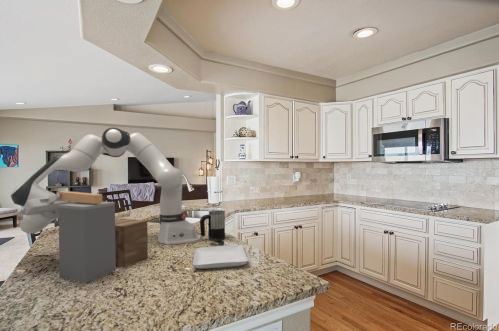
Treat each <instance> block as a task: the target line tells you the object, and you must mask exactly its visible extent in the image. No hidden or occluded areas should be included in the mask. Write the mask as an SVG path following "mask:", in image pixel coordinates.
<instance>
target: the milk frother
mask: <svg viewBox="0 0 499 331" xmlns="http://www.w3.org/2000/svg"><path fill="white" fill-rule="evenodd" d="M225 217H226V211H225V210H220V209H219V210H209V211H208V214H205V215H204V214H203V215H202V216H201V217H200V219H199V228H200V229H199V231H200V236H201V237H205V236H206V229H205V226H206V225H205V221H206V220H207V221H208V223H207V224H208V229H207V230H208V231H207V233H208V234H207V236H208V240H209V241H212V242H214V243H216V244H218V245H221V244H224V243H225V241H224V240H225V239H226V228H225V226H226V222H225V221H226V220H225V219H226V218H225Z"/></svg>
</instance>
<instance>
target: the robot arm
mask: <svg viewBox="0 0 499 331" xmlns="http://www.w3.org/2000/svg"><path fill="white" fill-rule="evenodd" d="M126 151H127V152H130V153H131V154H132V155H133V156H134V157H135V158H136V159H137V160H138V161H139V162H140V163H141V164H142V166H144V167H145V168H146V170H148V172H149V173H150V174H151V176H152V177H153V179H154V180H155V181H156V183H158V184H159V185H160V187H161V192H160V199H159V204H160V205H159V206H160V207H159V209H160V210H159V213H160V214H159V216H158V219H159V220H158V221H159V232H158V233H159V234H158V238H157V240H156V241H157V243H160V244H165V245H167V246H170V245H179V244H190V243H198V242H199V241H200V240H201V239H202V238H201V237H202V236H201V234H199V233H197V229H196V226H195V225H194V224H193V223H192V222H190V221H188V220H187V219H186V218H187V216H186V213H183V212H182V209H183V208H182V200H183V198H182V196H183V195H182V194H183V173H182V171H181V170H180V169H179V168H177V167H174V166H173V165H172V164H171V163H170V162H169V160H168V159H167V158H166V156H165V154H163V153H162V152H161V151H160V150H159V149H158V148H157V146H155V145H154V143H152V142H151V141H150V140H149V139H148V138H147V137H145V136H144V135H143V134H142V133H140V132H133V133H130V134H129V132H128V131H125V130H123V129H120V128H118V127H113V126H112V127H109V128H106V129H105V130H104V131H103V132H102V135H101V137H99V136H97V135H95V134H92V133H91V134H86V135H85V136H83V137H82V138H81V139H80V140H79V141H78V142H77V143H76V144H75V145H74V146H73V148H71V150H70V151H68V152H67V153H65V154H58V155H55V156H54V157H52V158H51V159H50V160H49V161H47V163H45V164H44V165H43V166H41V167H40V168H39V169H38V170H37V171H36V172H34V173H33V174H32V175H31V176H30V177H29V178H27V179H26V181H24V182H22V183H20V184H18V185H17V186H16V188H15V189H13V190H12V192H11V195H10V198H11V200H12V203H14V205H17V206H21V207H23V209H21V210H20V211H19V212H18V213H19V215H23V218H22V219H21V221H20V222H19V228H20V230H21V231H22V232H24V233H26V234H30V235H32V234H33V235H34V234H36V233H40V232H41V231H42V230H43V229H45V228H47V227H48V226H50V224H51V223H52V222H53V221H55V220H59V205H63V204H71V203H78V202H75V201H66V200H58V199H61V198H62V194H61V193H58V194H57V193H54V192H52V191H50V190H47V189H46V188H43V187H41V186H40V185H39V184H40V183H41V182H42V181H43V180H44V179H45V178H46V177H47V176H49V175H50V174H51V173H52V172H54V171H59V170H60V171H61V170H62V171H68V172H69V171H70V172H75V173H76V172H77V173H80V172H82V173H83V172H85V171H88V170H89V169H90V168H91V167H92V166H93V165H94V163H95V162H96V161H97V159H98V158H99V157H100V155H104V156H108V157H111V158H119V157H122V156H123V155H124V154H125V153H126Z"/></svg>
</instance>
